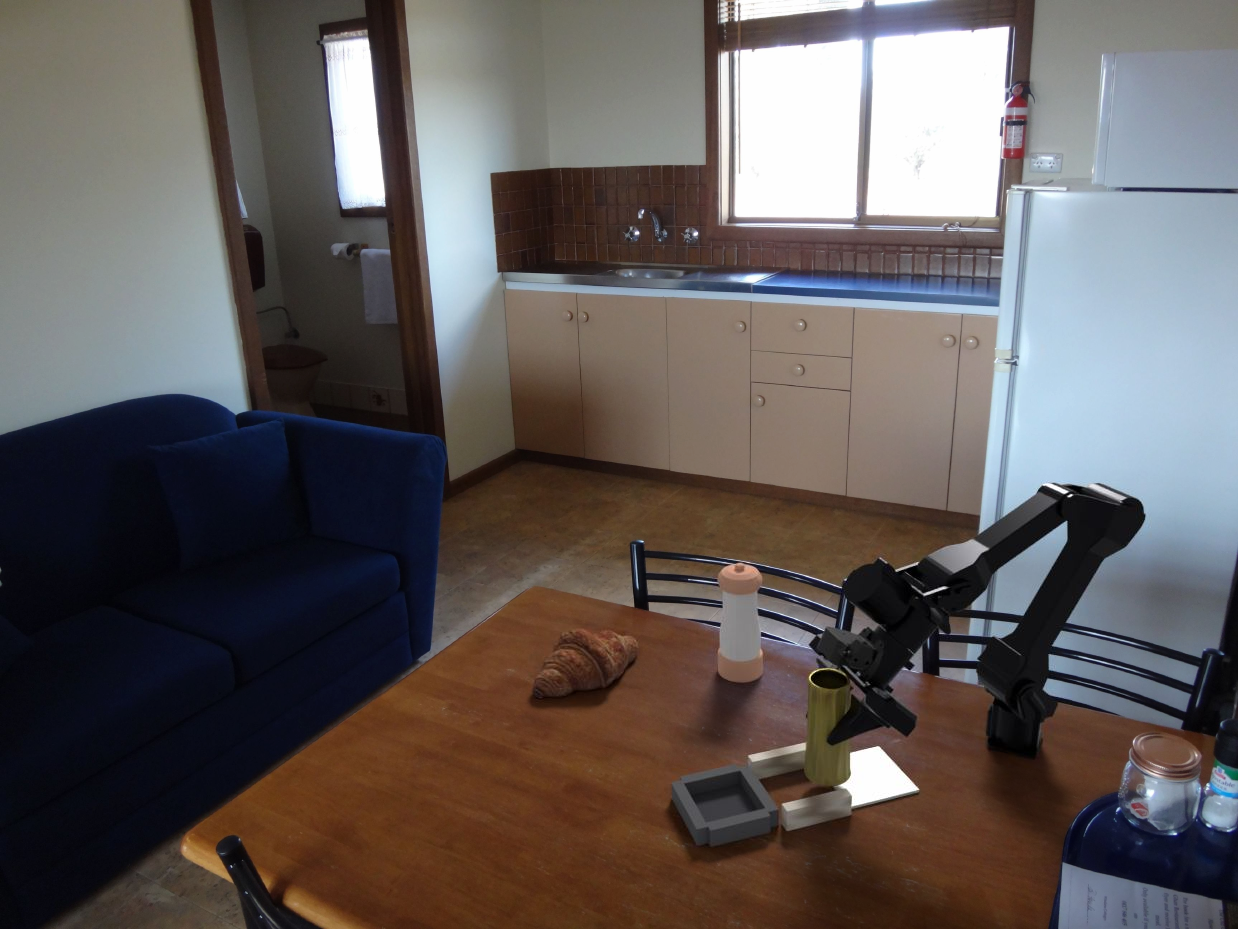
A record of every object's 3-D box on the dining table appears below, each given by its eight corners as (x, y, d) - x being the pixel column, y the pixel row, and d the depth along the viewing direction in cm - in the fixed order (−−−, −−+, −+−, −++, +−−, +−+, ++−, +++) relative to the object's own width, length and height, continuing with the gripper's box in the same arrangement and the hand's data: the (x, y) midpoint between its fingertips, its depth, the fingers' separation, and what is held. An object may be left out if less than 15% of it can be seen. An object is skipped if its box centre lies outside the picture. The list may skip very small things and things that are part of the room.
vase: (851, 789, 122) (854, 693, 118) (803, 785, 123) (804, 690, 119) (850, 760, 128) (853, 667, 123) (804, 756, 129) (804, 664, 124)
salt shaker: (765, 682, 151) (766, 573, 145) (719, 683, 151) (718, 574, 145) (759, 658, 158) (760, 553, 152) (716, 659, 158) (714, 555, 152)
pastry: (553, 646, 166) (550, 605, 163) (640, 649, 163) (639, 607, 161) (531, 700, 150) (528, 656, 147) (628, 704, 148) (625, 659, 145)
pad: (878, 748, 134) (878, 746, 134) (919, 792, 125) (919, 789, 124) (814, 763, 131) (814, 761, 131) (850, 809, 122) (850, 806, 122)
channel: (807, 760, 132) (808, 742, 131) (851, 815, 121) (852, 795, 120) (747, 774, 130) (747, 755, 129) (786, 831, 119) (787, 811, 118)
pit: (746, 777, 129) (746, 761, 128) (781, 829, 119) (781, 813, 118) (669, 794, 126) (669, 779, 126) (699, 850, 116) (698, 833, 115)
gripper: (822, 578, 127) (747, 666, 128) (898, 643, 110) (812, 745, 111) (872, 619, 132) (800, 704, 133) (953, 688, 115) (870, 785, 116)
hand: (818, 731), depth 123 cm, fingers closed on vase, 5 cm apart
